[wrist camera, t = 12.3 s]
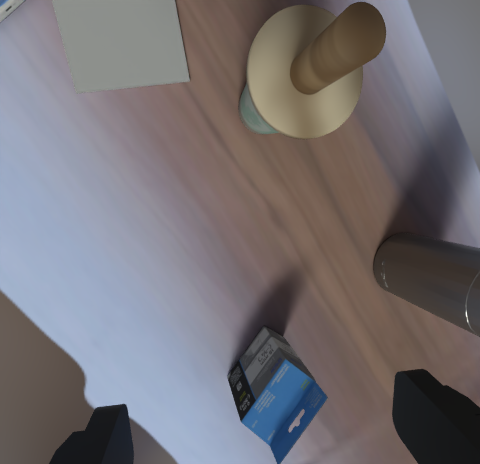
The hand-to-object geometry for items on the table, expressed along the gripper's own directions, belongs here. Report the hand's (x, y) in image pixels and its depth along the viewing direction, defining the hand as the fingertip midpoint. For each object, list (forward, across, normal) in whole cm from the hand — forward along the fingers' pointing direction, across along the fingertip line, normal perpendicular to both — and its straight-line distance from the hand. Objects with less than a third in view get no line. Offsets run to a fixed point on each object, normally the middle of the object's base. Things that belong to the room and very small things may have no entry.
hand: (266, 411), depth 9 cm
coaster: (+29, +9, -22) cm, 38 cm away
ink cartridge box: (+30, -4, +19) cm, 35 cm away
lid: (+19, -7, -14) cm, 25 cm away
